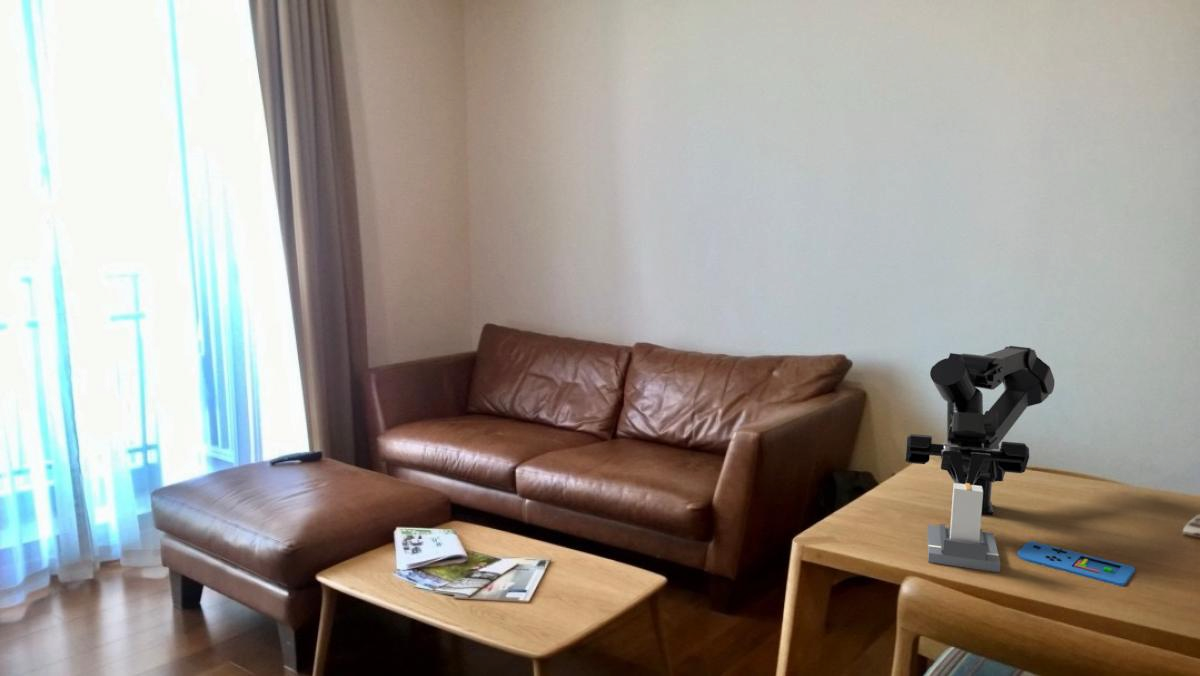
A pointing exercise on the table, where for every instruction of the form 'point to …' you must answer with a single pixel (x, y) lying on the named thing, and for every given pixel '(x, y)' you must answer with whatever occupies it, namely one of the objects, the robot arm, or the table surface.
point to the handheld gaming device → (1076, 563)
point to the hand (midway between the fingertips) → (965, 498)
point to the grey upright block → (966, 512)
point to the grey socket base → (962, 550)
